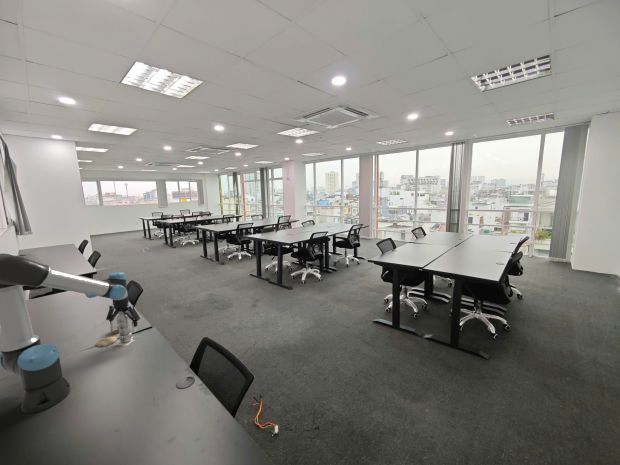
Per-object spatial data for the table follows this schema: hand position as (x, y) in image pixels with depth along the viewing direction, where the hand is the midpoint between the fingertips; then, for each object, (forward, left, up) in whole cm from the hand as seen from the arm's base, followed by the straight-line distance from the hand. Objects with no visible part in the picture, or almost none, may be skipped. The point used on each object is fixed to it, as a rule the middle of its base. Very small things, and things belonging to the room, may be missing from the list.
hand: (124, 330), depth 154 cm
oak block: (+10, +15, -7) cm, 19 cm away
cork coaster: (-2, +11, -7) cm, 13 cm away
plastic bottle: (0, 0, -7) cm, 7 cm away
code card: (0, 0, -7) cm, 7 cm away
